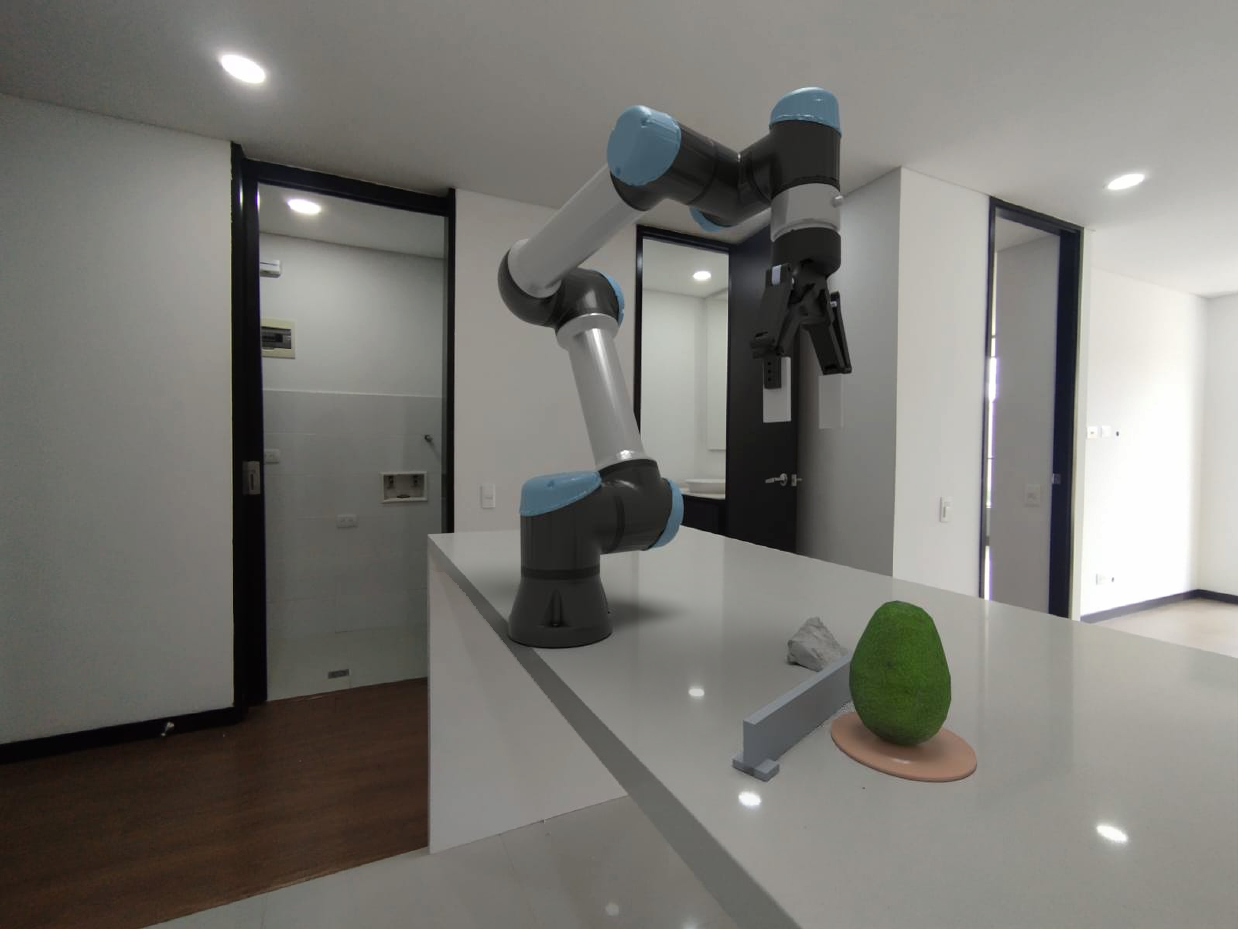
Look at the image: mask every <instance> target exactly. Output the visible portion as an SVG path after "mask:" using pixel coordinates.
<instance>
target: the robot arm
mask: <svg viewBox="0 0 1238 929" xmlns="http://www.w3.org/2000/svg"><path fill="white" fill-rule="evenodd" d="M839 106H840V104H839V102H838V99H837V97H836V96H835V95H834V94H833V93H832V92H830V91H828V89H826V88H823V87H818V86H809V87H802V88H798V89H796V90H795V89H794V90H793V91H791V92H789V93H787V94H785V95H784V96H782V97H780V99H778V100H777V103H776V104H775V106H774V107H773V108H772V109H771V112H770V121H769V123H768V129H769V132H768V134H766V135H765V136H763V137H761V138H759V139H758V140H757V141H755V142H753V143H752V144H750V145H748V146H747V147H746V148H744V149H742V150H740V151H735V150H734V149H731V148H730V147H729V146H726V145H724V144H722V143H720V142H719V141H716V140H714V139H712V138H710V137H708V136H707V135H704V134H701V133H700V132H698V131H696V130H695V129H692V128H691V127H688V126H687V125H685V124H684V123H682V122H679V121H678V120H676V119H675V118H673V116H671V115H669V114H667V113H665V112H661V111H659V110H655V109H652V108H650V107H648V106H646V105H640V104H638V105H637V104H636V105H632V106H630V107H628V108H626V109H625V110H624V111H623V112H622V113H621V114H620V115H619V117H618V118H617V119H616V124H615V125H614V126H615V127H614V128H613V129H612V130H611V132H610V133H609V134H610V135H609V138H608V141H607V146H606V161H607V162H606V163H605V164H604V165H603V166H602V167H600V169H599V170H598V171H597V172H596V173H595V174H594V175H593V176H592V177H591V178H590V179H589V180H588V181H587V182H585V183H584V185H583V186H582V187H581V188H580V189H579V190H577V191H576V193H575V194H573V196H571V198H569V199H568V200H567V201H566V203H565V204H563V205H562V207H561V208H559V209H558V210H557V211H556V212H555V213H554V214H553V215H552V216H551V217H550V218H549V219H548V220H547V221H546V222H545V223H544V224H543V225H542V226H541V227H540V228H538V229H537V231H536V232H535V233H534V234H533V235H532V236H531V237H530V238H524V239H520V240H518V241H517V242H515V243H514V244H513V245H512V246H511V247H510V248H509V249H508V250H507V252H505V254H504V255H503V257H502V259H501V261H500V264H499V267H498V270H497V279H496V280H497V287H498V291H499V295H500V298H501V299H502V301H503V304H504V305H505V307H506V308H507V309H508V310H509V311H510V313H511V314H512V315H514V316H515V317H516V318H518V319H519V320H520V321H522V322H525V323H527V324H530V325H532V326H533V325H534V326H537V327H538V326H540V327H544V328H549V329H553V330H554V333H555V338H556V339H555V340H556V342H557V344H558V345H559V347H560V348H561V349H562V350H564V351H565V352H567V353H568V357H569V361H570V365H571V370H572V374H573V377H574V382H575V386H576V390H577V395H578V399H579V403H580V406H581V411H582V414H583V418H584V423H585V427H586V431H587V436H588V440H589V444H590V448H591V452H592V457H593V459H594V460H593V461H594V465H595V468H594V470H576V471H569V472H567V471H565V472H558V473H557V472H556V473H551V474H545V475H538V476H535V477H532V478H529V479H528V480H526V481H525V482H524V483H523V484H522V487H521V492H520V500H519V502H520V503H519V505H520V506H519V509H518V512H519V516H520V517H519V518H520V519H519V520H520V525H519V528H520V529H519V531H520V532H519V533H520V534H519V536H520V538H519V539H520V545H519V546H520V581H519V584H518V588H517V591H516V594H515V596H514V600H513V603H512V609H511V612H510V614H509V616H508V622H507V623H508V627H507V628H508V630H507V631H508V633H507V634H508V636H509V638H510V639H511V640H513V641H515V642H517V643H519V644H523V645H527V646H533V647H541V648H565V647H577V646H582V645H587V644H588V645H589V644H592V643H595V642H598V641H601V640H604V639H605V638H608V636H610V635H611V634H612V632H613V614H612V611H611V609H610V608H609V603H608V599H607V595H606V592H605V589H604V586H603V583H602V578H601V556H603V555H612V554H620V553H621V554H622V553H628V552H637V551H639V552H647V551H649V550H651V549H652V550H653V549H657V548H661V547H665V546H666V545H667V544H670V543H671V542H672V541H673V540H674V538H676V536H677V535H678V532H679V530H680V526H681V525H682V523H683V519H684V508H685V507H684V498H683V495H682V492H681V490H680V488H679V486H678V485H677V484H676V483H675V482H673V481H672V479H669V478H667V477H664V476H663V477H662V476H661V472H660V471H661V470H660V469H659V465H658V462H657V460H656V458H655V459H654V458H653V457H651V456H649V455H647V454H646V452H645V448H644V446H643V441H642V438H641V435H640V431H639V427H638V423H637V420H636V416H635V413H634V409H633V405H632V401H631V398H630V395H629V390H628V388H627V384H626V380H625V376H624V373H623V370H622V369H623V368H622V366H621V363H620V362H621V360H620V358H619V355H618V351H617V348H616V343H615V341H614V340H615V338H616V337H617V335H618V332H619V329H620V327H621V325H622V323H623V320H624V316H625V314H624V313H625V312H623V310H624V309H625V307H626V304H625V297H624V293H623V290H622V287H620V284H619V283H618V281H616V280H615V278H613V276H609V275H608V274H606V273H603V272H601V271H599V270H596V269H590V268H589V269H586V268H583V267H580V265H582V264H583V263H584V262H586V261H587V260H588V259H590V258H591V257H592V256H593V255H594V254H596V253H597V252H599V251H600V250H601V249H603V248H604V247H605V246H606V245H607V244H609V243H610V242H611V241H612V240H613V239H615V238H616V237H617V236H619V235H620V234H621V233H622V232H624V231H625V230H626V229H628V228H630V226H631V225H634V223H635V222H636V221H638V220H640V218H642V217H643V216H644V215H646V214H647V213H648V212H649V211H650V210H652V209H654V208H655V207H656V206H657V205H659V204H660V203H661V202H662V201H664V200H667V199H668V200H671V201H675V202H676V203H679V204H681V205H684V206H686V207H688V209H689V213H690V215H691V217H692V219H693V221H694V222H695V223H698V224H699V227H700V229H701V230H703V231H706V232H708V233H712V234H713V233H715V234H716V233H719V232H722V231H724V230H726V229H727V230H728V229H731V228H733V227H734V228H735V227H737V226H739V225H741V224H742V223H743V222H745V221H748V220H749V219H751V218H754V217H755V216H757V215H759V214H761V213H762V212H765V211H767V210H769V209H770V240H771V242H772V244H771V246H770V268H767V269H765V282H764V283H765V284H764V290H763V294H762V297H761V300H760V304H759V307H758V311H757V315H756V318H755V321H754V326H753V330H752V332H751V336H750V339H749V347H750V349H751V350H752V358H753V359H754V361H758V360H762V364H763V365H762V373H763V374H762V381H763V382H762V385H763V386H762V388H763V389H762V390H763V391H762V394H763V396H762V397H763V398H762V400H763V401H762V403H763V404H762V406H763V409H762V411H763V415H762V416H763V418H762V419H763V423H767V424H768V423H780V422H791V421H792V417H791V416H792V414H791V413H792V412H791V411H792V410H791V408H792V405H791V404H792V402H791V401H792V398H791V397H792V396H791V394H792V393H791V391H792V390H791V389H792V388H791V386H792V383H791V376H792V374H791V373H792V372H791V369H792V368H791V357H789V356H785V355H786V353H787V352H788V349H789V346H790V344H791V342H792V340H793V338H794V336H795V334H796V331H797V330H798V327H799V325H800V324H801V326H802V329H803V330H805V331H806V332H808V335H809V337H810V341H811V343H812V347H813V349H814V352H815V355H816V358H817V361H818V364H819V368H820V371H821V374H822V375H819V376H818V429H820V430H828V429H829V430H830V429H831V430H832V429H843V428H844V423H845V422H844V420H845V419H844V415H845V414H844V411H845V410H844V375H848V374H852V371H853V367H852V363H851V357H850V352H849V347H848V346H849V345H848V340H847V336H846V331H845V330H846V329H845V325H844V320H843V314H842V308H841V306H842V305H841V294H840V291H838V290H835V291H832V292H830V289H829V287H828V279H829V277H830V276H832V275H833V274H835V273H836V272H837V271H839V269H840V268H841V265H842V236H841V234H839V232H840V231H841V206H843V205H844V204H845V199H844V196H842V195H841V185H840V184H841V183H840V182H841V179H840V178H841V139H842V137H843V136H842V135H843V133H842V130H841V122H840V121H841V120H840V108H839ZM765 334H766V335H765ZM782 356H783V357H782ZM784 356H785V357H784ZM610 633H611V634H610ZM609 634H610V635H609Z"/></svg>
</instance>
